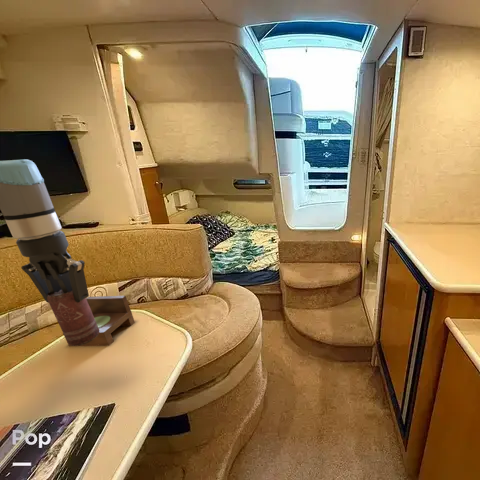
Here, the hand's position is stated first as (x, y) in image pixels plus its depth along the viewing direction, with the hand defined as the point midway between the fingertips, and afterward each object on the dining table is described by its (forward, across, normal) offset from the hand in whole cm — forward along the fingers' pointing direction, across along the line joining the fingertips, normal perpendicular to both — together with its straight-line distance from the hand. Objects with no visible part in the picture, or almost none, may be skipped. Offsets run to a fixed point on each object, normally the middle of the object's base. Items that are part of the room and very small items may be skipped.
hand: (79, 325), depth 66 cm
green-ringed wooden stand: (+20, +18, -20) cm, 34 cm away
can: (+4, 0, 0) cm, 4 cm away
